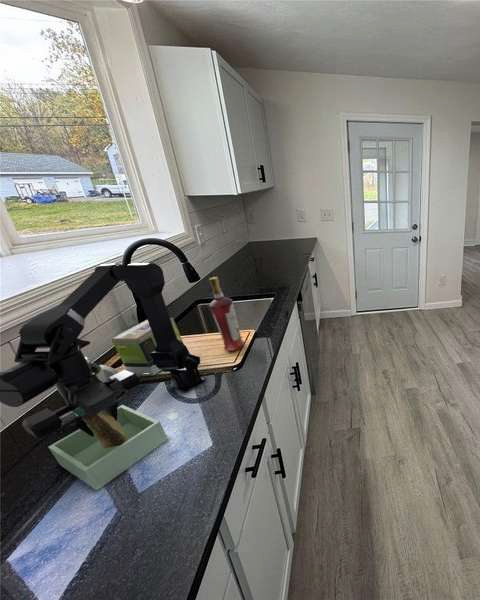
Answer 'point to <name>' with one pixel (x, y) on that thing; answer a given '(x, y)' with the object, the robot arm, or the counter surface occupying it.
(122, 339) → the tea box
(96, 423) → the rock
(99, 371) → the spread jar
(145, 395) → the counter surface
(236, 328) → the liquor
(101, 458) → the shallow rectangular tray
